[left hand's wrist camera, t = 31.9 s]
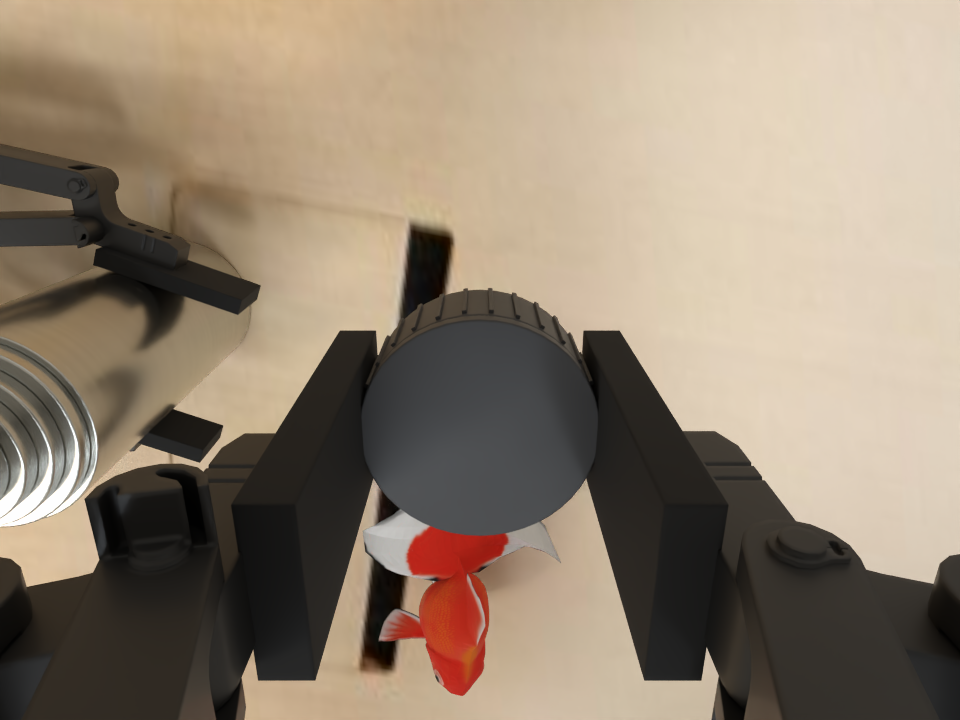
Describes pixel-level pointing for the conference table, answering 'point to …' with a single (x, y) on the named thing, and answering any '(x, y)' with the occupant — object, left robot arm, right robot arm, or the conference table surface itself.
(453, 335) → the cap
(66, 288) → the bottle
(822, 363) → the conference table surface
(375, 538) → the fish
